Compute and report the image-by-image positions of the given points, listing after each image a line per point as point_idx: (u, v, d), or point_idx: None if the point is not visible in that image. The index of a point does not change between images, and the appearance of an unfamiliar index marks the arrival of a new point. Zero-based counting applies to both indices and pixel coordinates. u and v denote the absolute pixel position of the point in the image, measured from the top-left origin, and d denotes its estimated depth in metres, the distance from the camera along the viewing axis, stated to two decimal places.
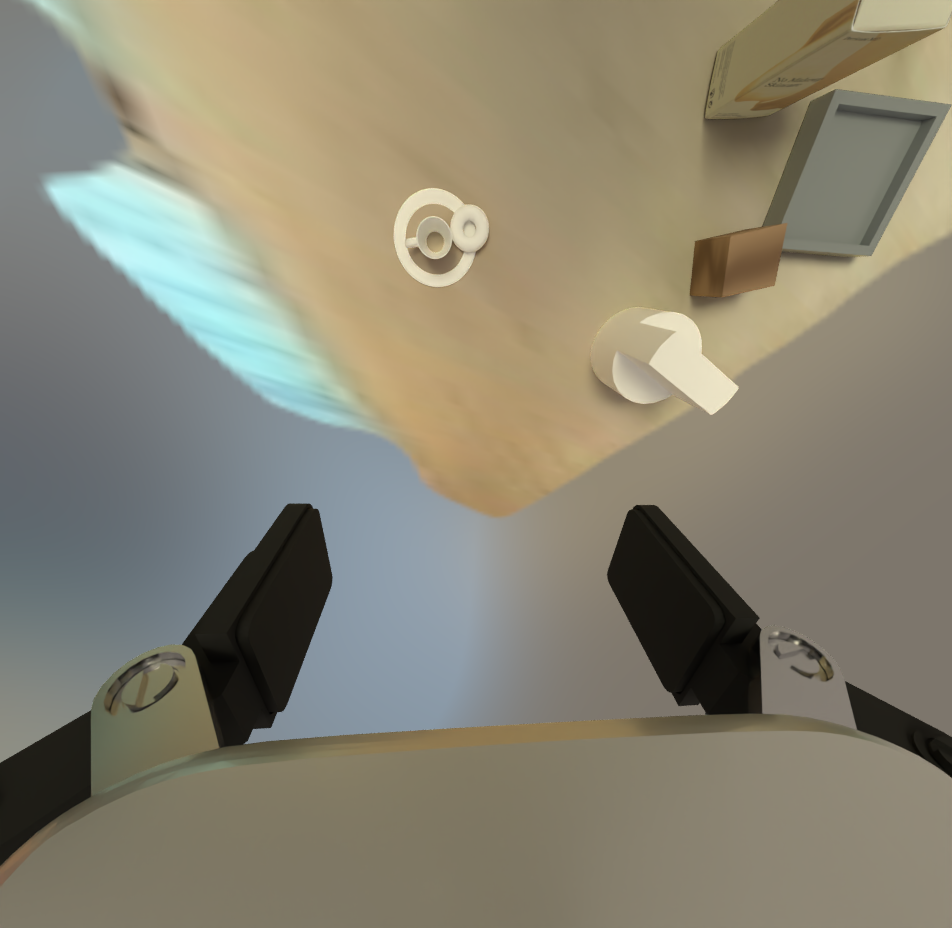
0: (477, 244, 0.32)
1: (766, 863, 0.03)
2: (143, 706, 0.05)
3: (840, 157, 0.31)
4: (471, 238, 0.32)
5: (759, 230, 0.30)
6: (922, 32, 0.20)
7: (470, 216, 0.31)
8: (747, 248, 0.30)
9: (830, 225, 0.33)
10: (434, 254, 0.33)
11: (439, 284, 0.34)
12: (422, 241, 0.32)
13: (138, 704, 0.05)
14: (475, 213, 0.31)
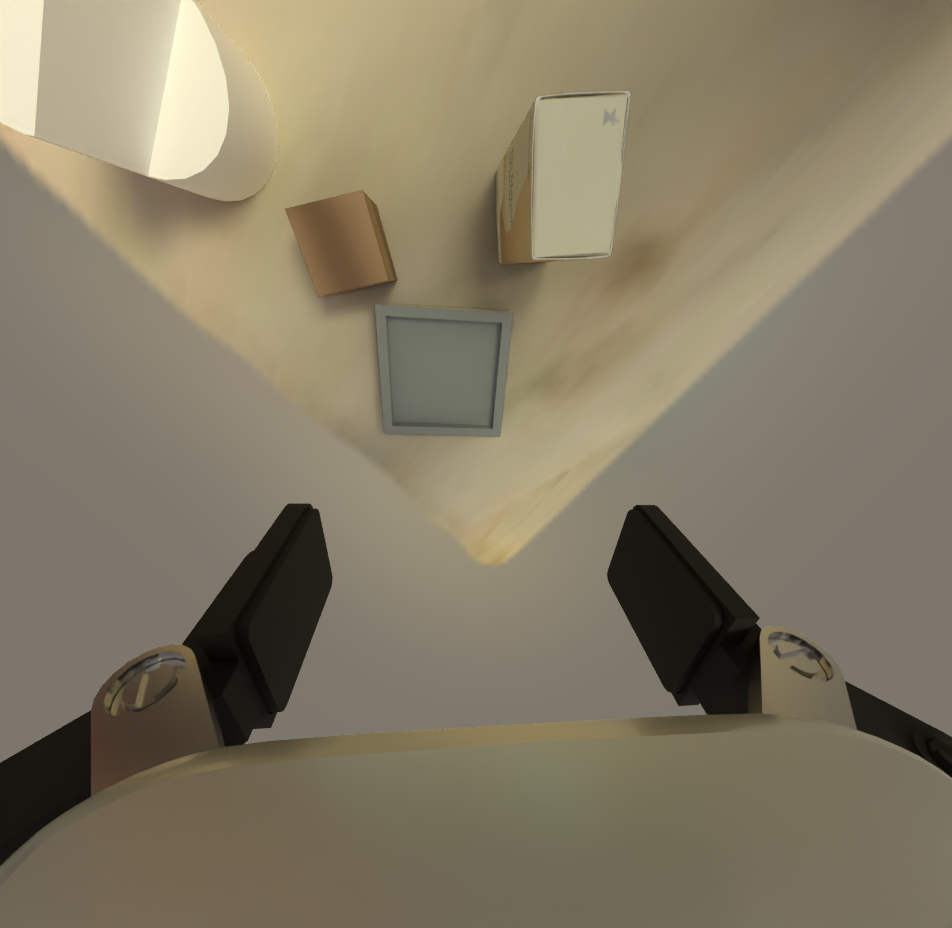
0: None
1: (766, 863, 0.03)
2: (143, 706, 0.05)
3: (464, 358, 0.30)
4: None
5: (375, 239, 0.22)
6: (530, 233, 0.17)
7: None
8: (352, 228, 0.22)
9: (408, 379, 0.30)
10: None
11: None
12: None
13: (138, 704, 0.05)
14: None
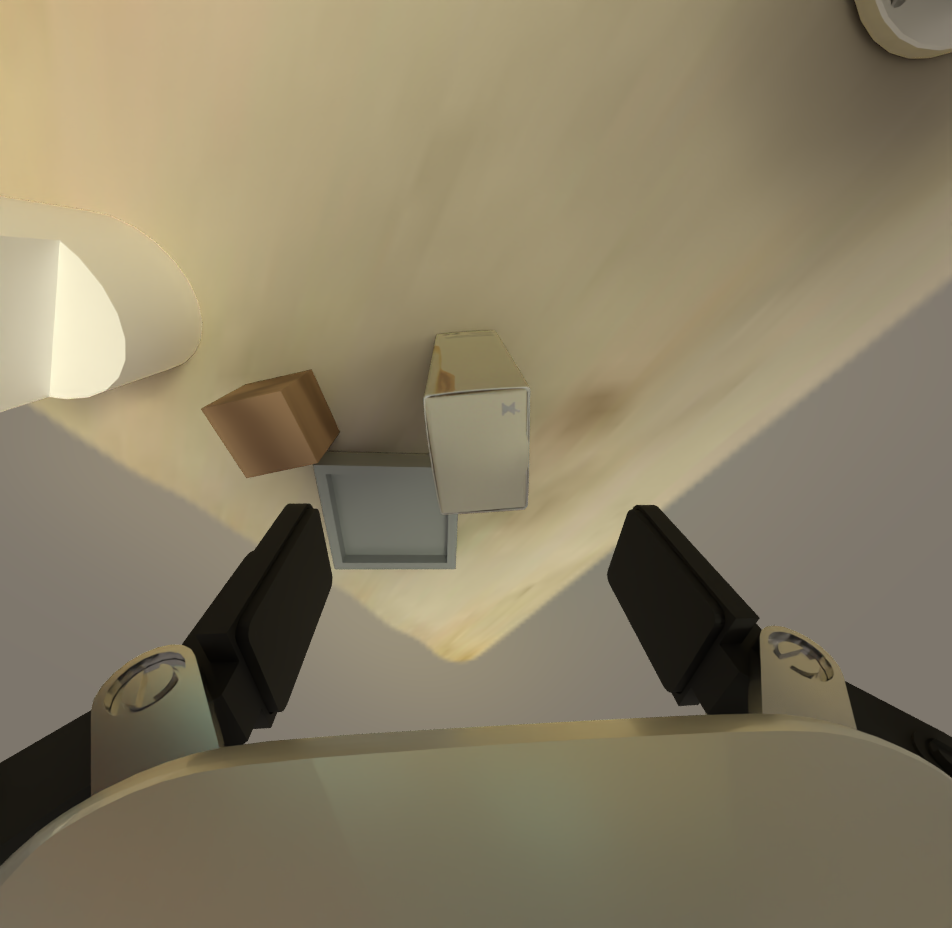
0: None
1: (766, 863, 0.03)
2: (143, 706, 0.05)
3: (413, 501, 0.29)
4: None
5: (299, 430, 0.21)
6: (436, 492, 0.16)
7: None
8: (274, 422, 0.21)
9: (357, 520, 0.29)
10: None
11: None
12: None
13: (138, 704, 0.05)
14: None
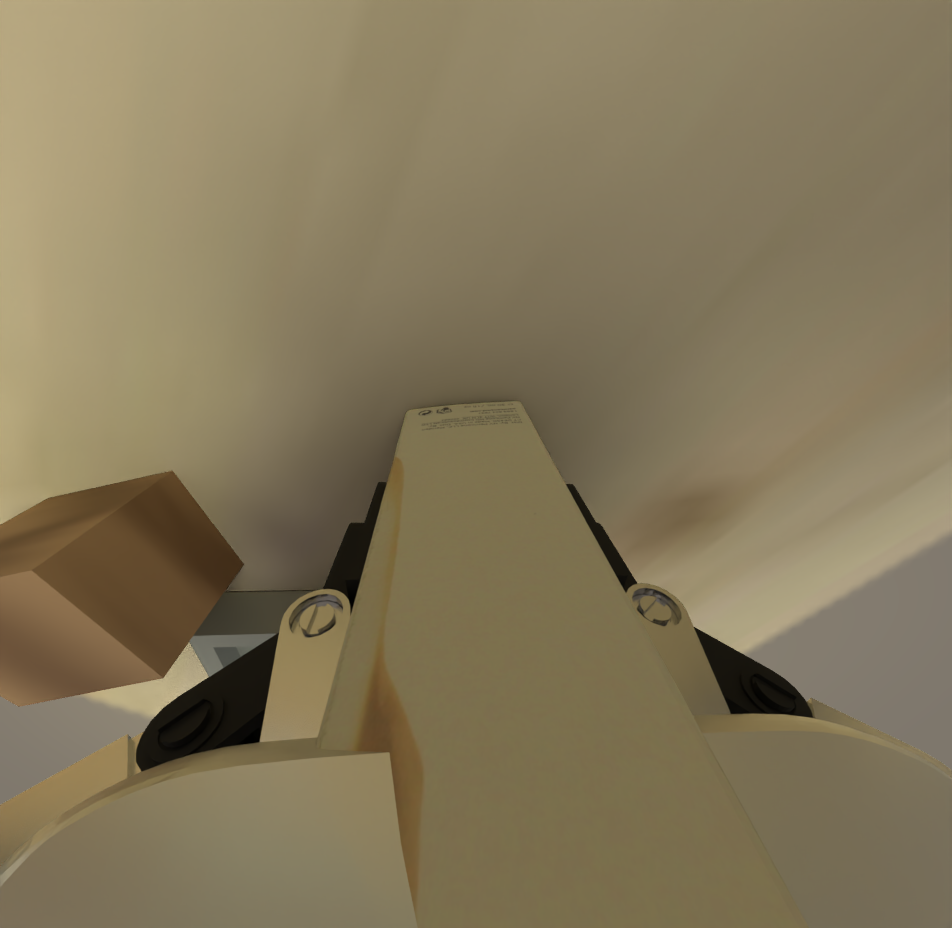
0: None
1: None
2: (310, 634, 0.06)
3: None
4: None
5: (105, 632, 0.10)
6: None
7: None
8: (41, 622, 0.09)
9: None
10: None
11: None
12: None
13: (308, 631, 0.06)
14: None
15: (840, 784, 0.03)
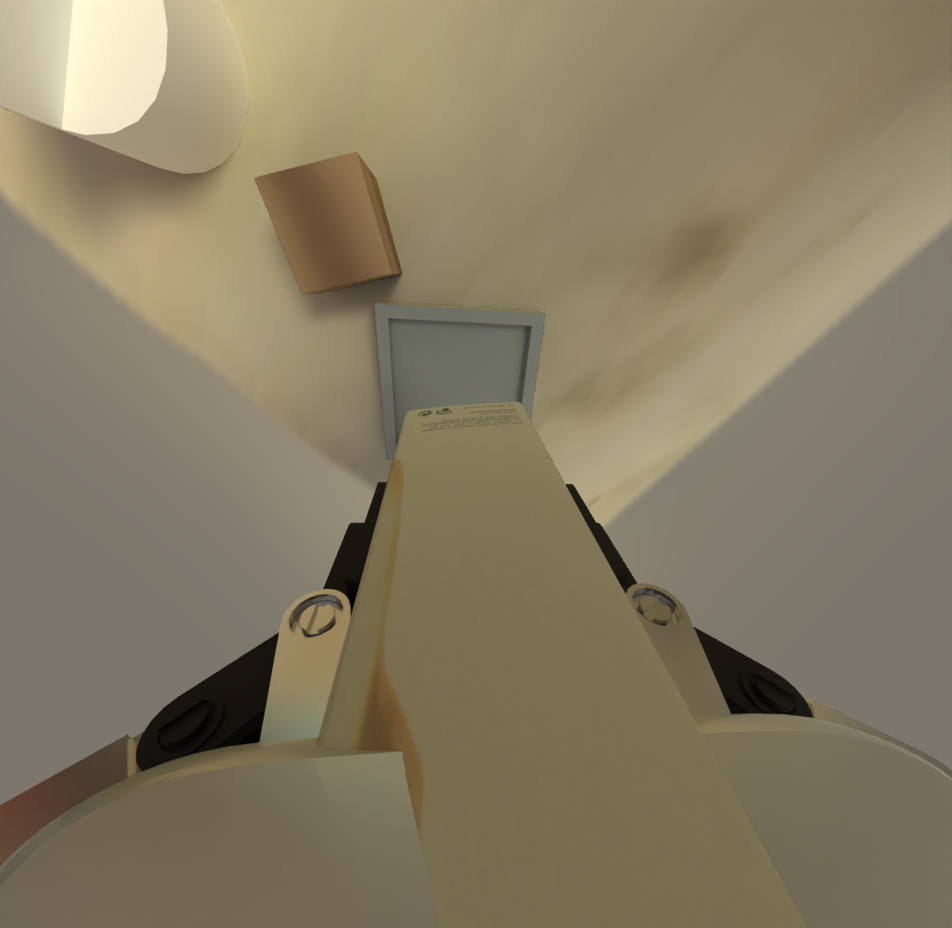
0: None
1: None
2: (310, 634, 0.06)
3: (483, 368, 0.25)
4: None
5: (374, 219, 0.17)
6: None
7: None
8: (344, 204, 0.17)
9: (415, 394, 0.25)
10: None
11: None
12: None
13: (308, 631, 0.06)
14: None
15: (840, 784, 0.03)
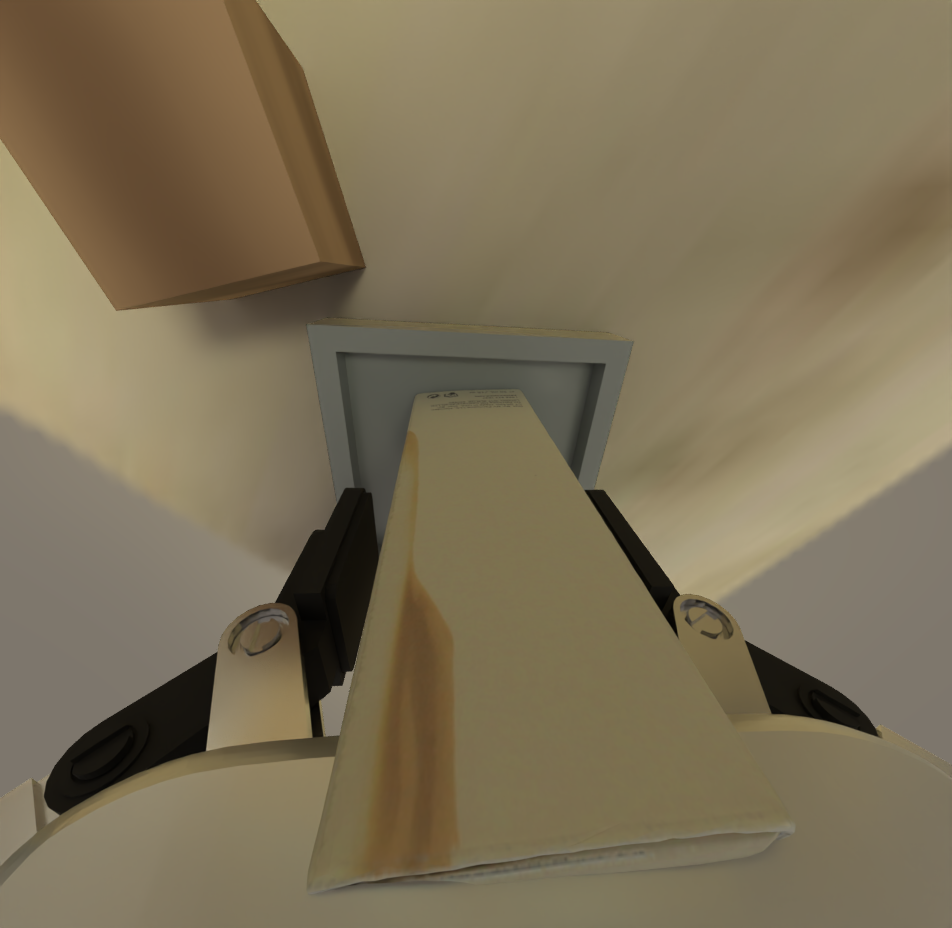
0: None
1: (766, 863, 0.03)
2: (254, 652, 0.06)
3: None
4: None
5: (263, 120, 0.07)
6: None
7: None
8: (177, 74, 0.06)
9: (394, 473, 0.15)
10: None
11: None
12: None
13: (251, 649, 0.06)
14: None
15: (840, 784, 0.03)
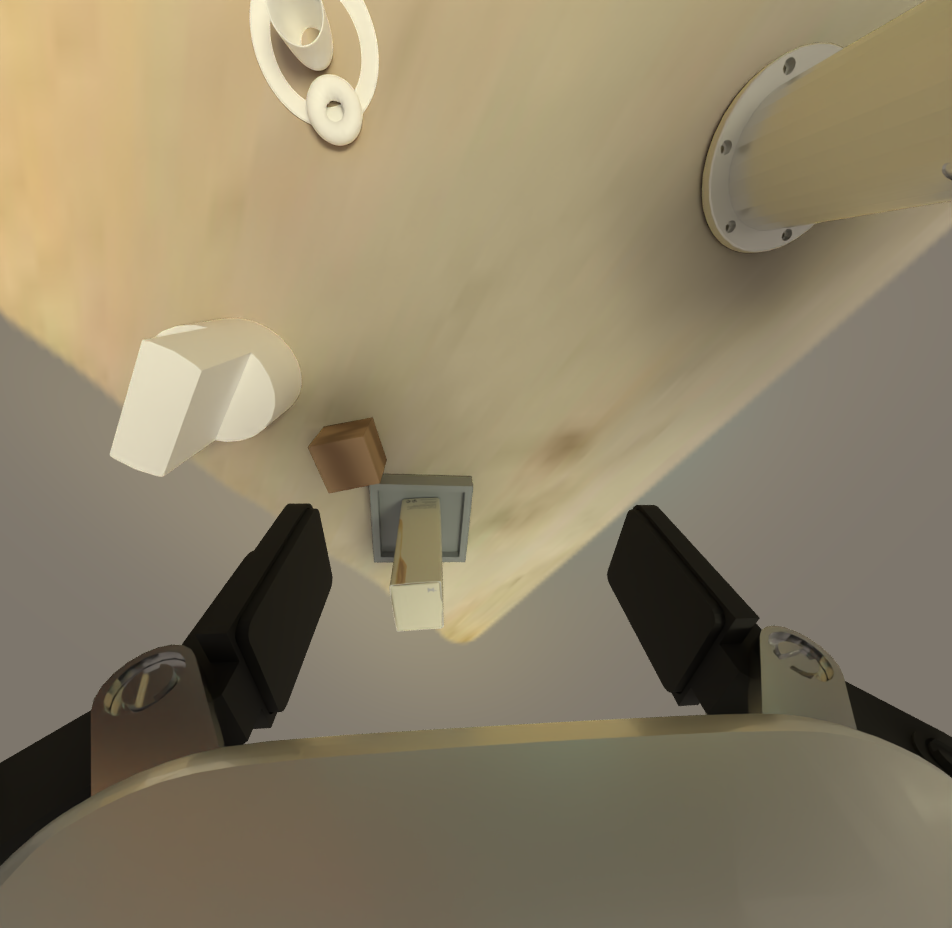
0: (314, 119, 0.23)
1: (766, 863, 0.03)
2: (143, 706, 0.05)
3: None
4: (322, 110, 0.23)
5: (371, 461, 0.31)
6: (395, 620, 0.30)
7: (347, 110, 0.23)
8: (355, 456, 0.31)
9: (393, 524, 0.39)
10: (294, 36, 0.21)
11: (255, 42, 0.22)
12: (305, 8, 0.21)
13: (138, 704, 0.05)
14: (350, 119, 0.23)
15: (839, 784, 0.03)
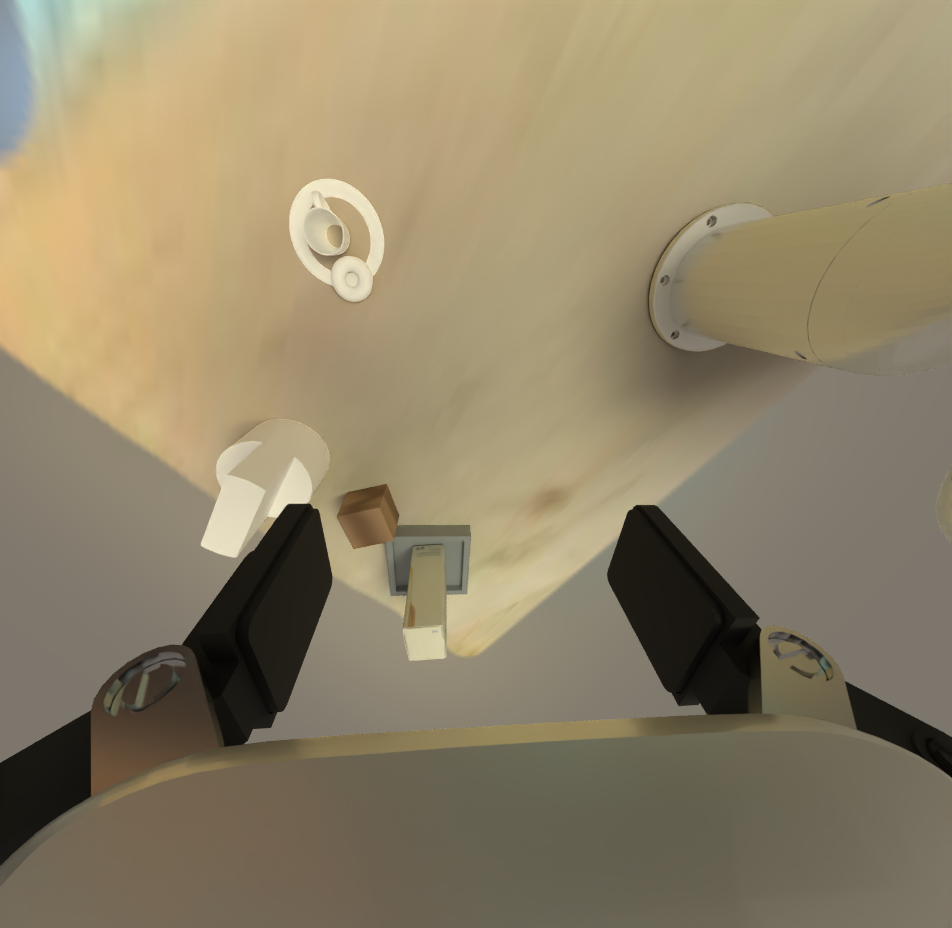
0: (337, 288, 0.30)
1: (766, 863, 0.03)
2: (143, 706, 0.05)
3: None
4: (342, 281, 0.30)
5: (386, 525, 0.39)
6: (407, 653, 0.38)
7: (361, 280, 0.30)
8: (373, 521, 0.39)
9: (406, 565, 0.47)
10: (321, 233, 0.29)
11: (293, 238, 0.29)
12: (330, 218, 0.28)
13: (138, 704, 0.05)
14: (363, 286, 0.30)
15: (840, 784, 0.03)
